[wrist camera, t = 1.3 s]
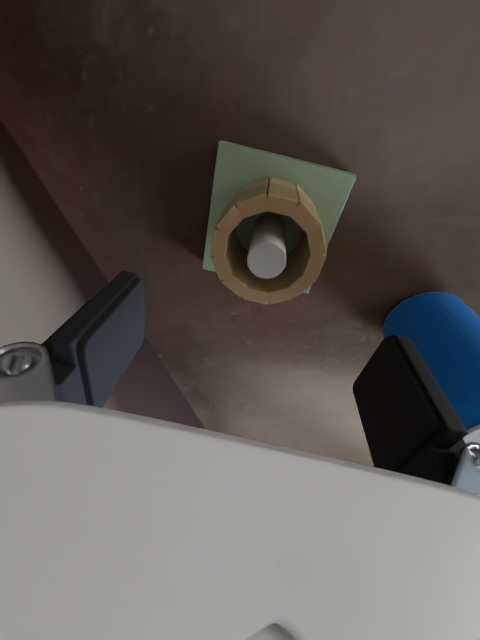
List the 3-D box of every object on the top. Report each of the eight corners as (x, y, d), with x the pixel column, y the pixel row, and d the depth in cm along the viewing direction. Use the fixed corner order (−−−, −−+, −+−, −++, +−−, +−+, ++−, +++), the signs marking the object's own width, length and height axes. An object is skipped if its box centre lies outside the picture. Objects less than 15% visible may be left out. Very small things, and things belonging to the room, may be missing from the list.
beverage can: (475, 321, 24) (608, 458, 14) (403, 356, 27) (471, 488, 17) (440, 271, 22) (568, 394, 12) (365, 316, 25) (420, 442, 15)
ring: (233, 167, 18) (220, 180, 14) (331, 191, 18) (345, 211, 14) (218, 258, 22) (204, 290, 18) (298, 278, 22) (303, 313, 18)
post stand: (221, 139, 18) (195, 149, 13) (352, 172, 18) (385, 196, 13) (205, 262, 24) (181, 307, 18) (306, 286, 24) (315, 338, 18)
